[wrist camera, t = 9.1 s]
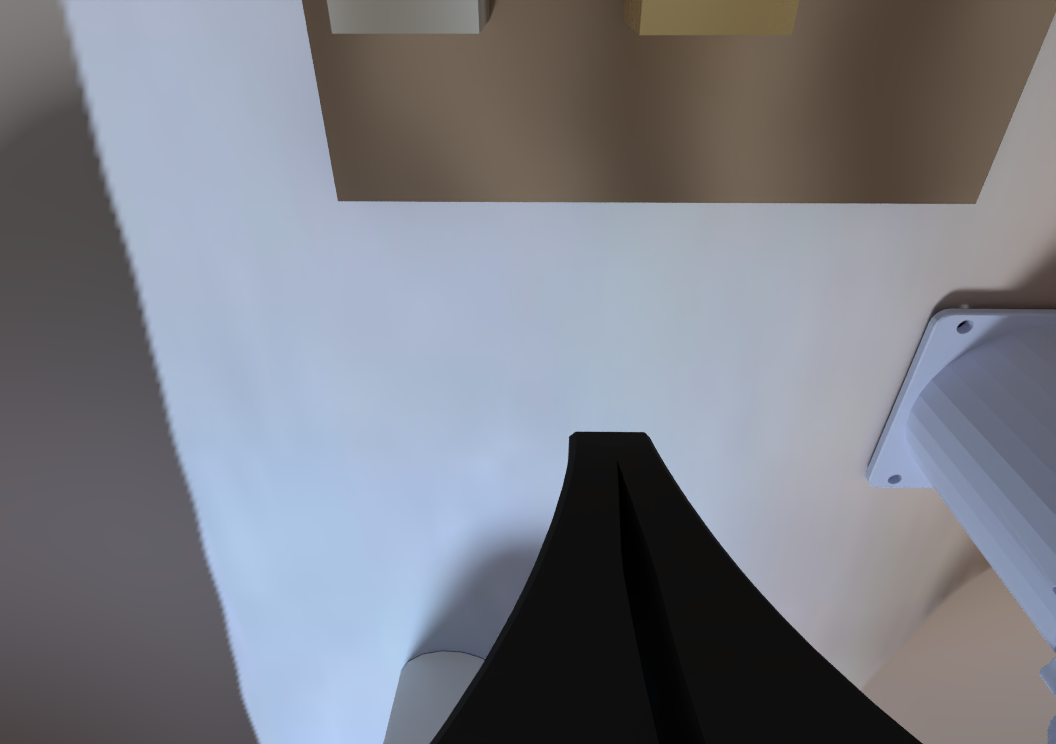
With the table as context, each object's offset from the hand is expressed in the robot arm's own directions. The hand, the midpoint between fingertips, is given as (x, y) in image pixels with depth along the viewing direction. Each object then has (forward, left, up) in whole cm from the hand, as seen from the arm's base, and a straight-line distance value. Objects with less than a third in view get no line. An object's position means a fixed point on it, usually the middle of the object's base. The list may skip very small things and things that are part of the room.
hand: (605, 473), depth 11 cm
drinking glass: (+6, +26, -11) cm, 29 cm away
